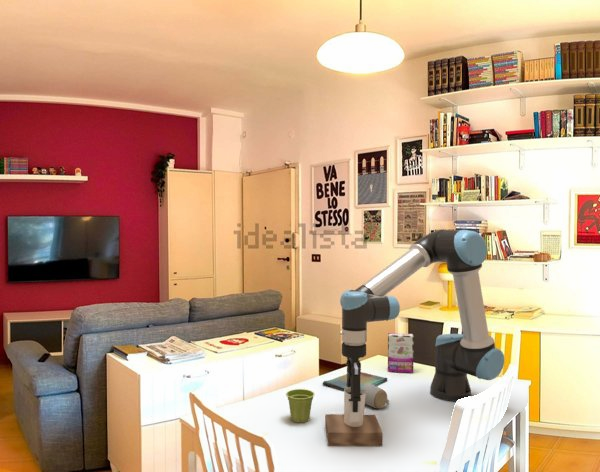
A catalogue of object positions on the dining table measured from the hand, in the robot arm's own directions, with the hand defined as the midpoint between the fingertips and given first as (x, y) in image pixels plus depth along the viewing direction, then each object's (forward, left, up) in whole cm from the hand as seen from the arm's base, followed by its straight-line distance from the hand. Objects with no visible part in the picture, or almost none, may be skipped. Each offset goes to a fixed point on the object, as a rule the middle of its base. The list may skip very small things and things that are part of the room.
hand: (352, 416), depth 158 cm
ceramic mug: (-11, -27, -6) cm, 30 cm away
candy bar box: (-29, -68, -6) cm, 74 cm away
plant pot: (+16, -13, -6) cm, 22 cm away
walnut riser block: (0, 0, -6) cm, 6 cm away
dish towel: (-7, -51, -7) cm, 52 cm away
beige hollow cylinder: (0, 0, -2) cm, 2 cm away
